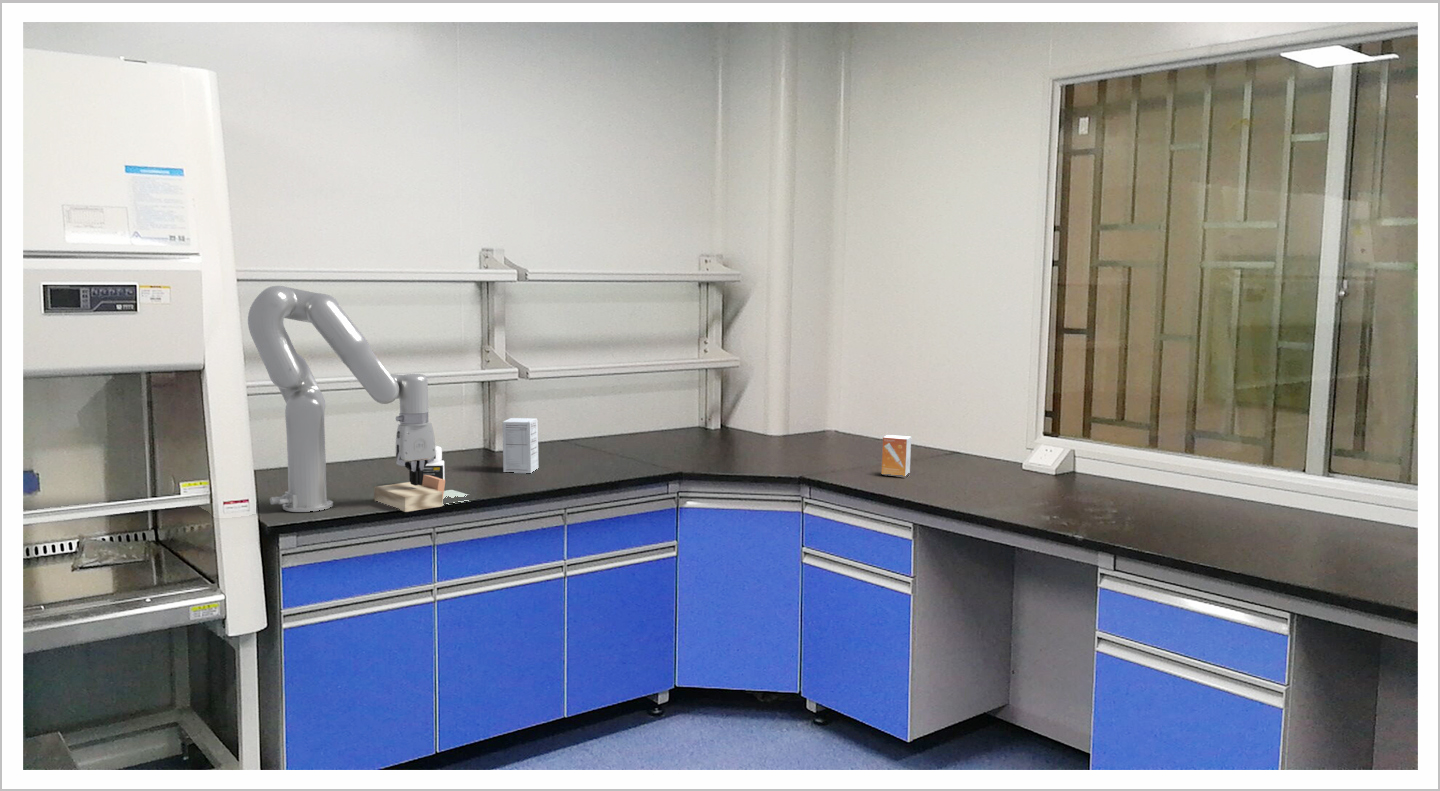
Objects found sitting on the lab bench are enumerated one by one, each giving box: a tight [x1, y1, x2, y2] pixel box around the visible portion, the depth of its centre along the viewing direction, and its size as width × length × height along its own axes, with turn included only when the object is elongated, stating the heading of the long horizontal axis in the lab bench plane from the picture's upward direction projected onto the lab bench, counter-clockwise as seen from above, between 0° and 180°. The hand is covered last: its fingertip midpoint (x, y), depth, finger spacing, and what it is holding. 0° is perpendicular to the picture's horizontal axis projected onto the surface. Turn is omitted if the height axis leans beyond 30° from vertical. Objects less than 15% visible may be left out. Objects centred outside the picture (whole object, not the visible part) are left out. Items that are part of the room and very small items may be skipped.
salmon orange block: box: [422, 475, 446, 501], centre depth 299 cm, size 9×6×2 cm
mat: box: [443, 489, 470, 506], centre depth 303 cm, size 12×16×1 cm
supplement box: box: [502, 417, 539, 474], centre depth 345 cm, size 10×9×17 cm
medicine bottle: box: [421, 445, 446, 485], centre depth 319 cm, size 7×7×12 cm
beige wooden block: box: [373, 481, 444, 513], centre depth 295 cm, size 11×18×4 cm, turn 44°
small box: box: [880, 434, 912, 476], centre depth 347 cm, size 8×6×13 cm
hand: (416, 484), depth 296 cm, fingers closed
